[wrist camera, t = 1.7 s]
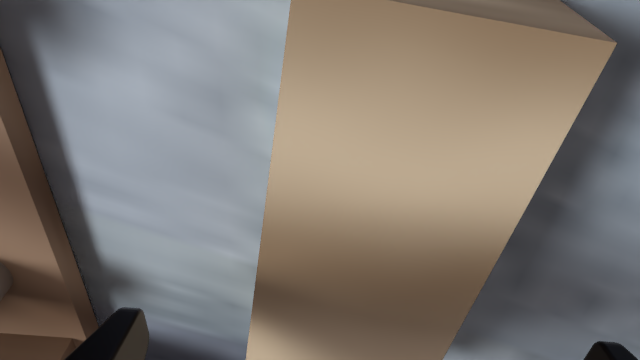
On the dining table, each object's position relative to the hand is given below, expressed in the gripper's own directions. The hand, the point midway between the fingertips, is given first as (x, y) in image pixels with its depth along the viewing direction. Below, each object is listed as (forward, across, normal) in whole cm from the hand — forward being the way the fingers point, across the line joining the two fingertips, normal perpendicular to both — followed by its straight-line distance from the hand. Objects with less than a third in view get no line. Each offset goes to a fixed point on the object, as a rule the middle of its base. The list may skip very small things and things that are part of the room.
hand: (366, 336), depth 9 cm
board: (+5, 0, 0) cm, 5 cm away
